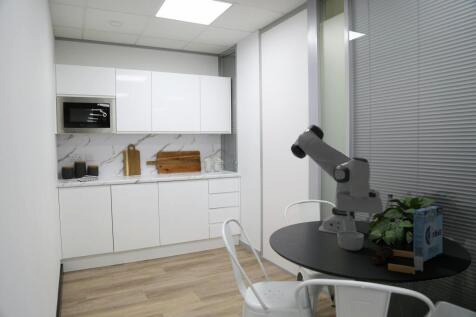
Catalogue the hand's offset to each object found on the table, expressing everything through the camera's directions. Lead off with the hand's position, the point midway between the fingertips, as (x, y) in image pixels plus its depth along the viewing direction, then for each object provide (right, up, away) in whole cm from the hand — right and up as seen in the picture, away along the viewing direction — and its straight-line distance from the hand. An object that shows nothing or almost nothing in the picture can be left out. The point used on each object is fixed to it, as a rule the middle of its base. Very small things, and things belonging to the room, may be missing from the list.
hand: (359, 221), depth 153 cm
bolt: (+9, -18, -4) cm, 20 cm away
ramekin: (+1, -17, +16) cm, 23 cm away
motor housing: (+18, -17, -8) cm, 26 cm away
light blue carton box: (+33, -17, +1) cm, 38 cm away
